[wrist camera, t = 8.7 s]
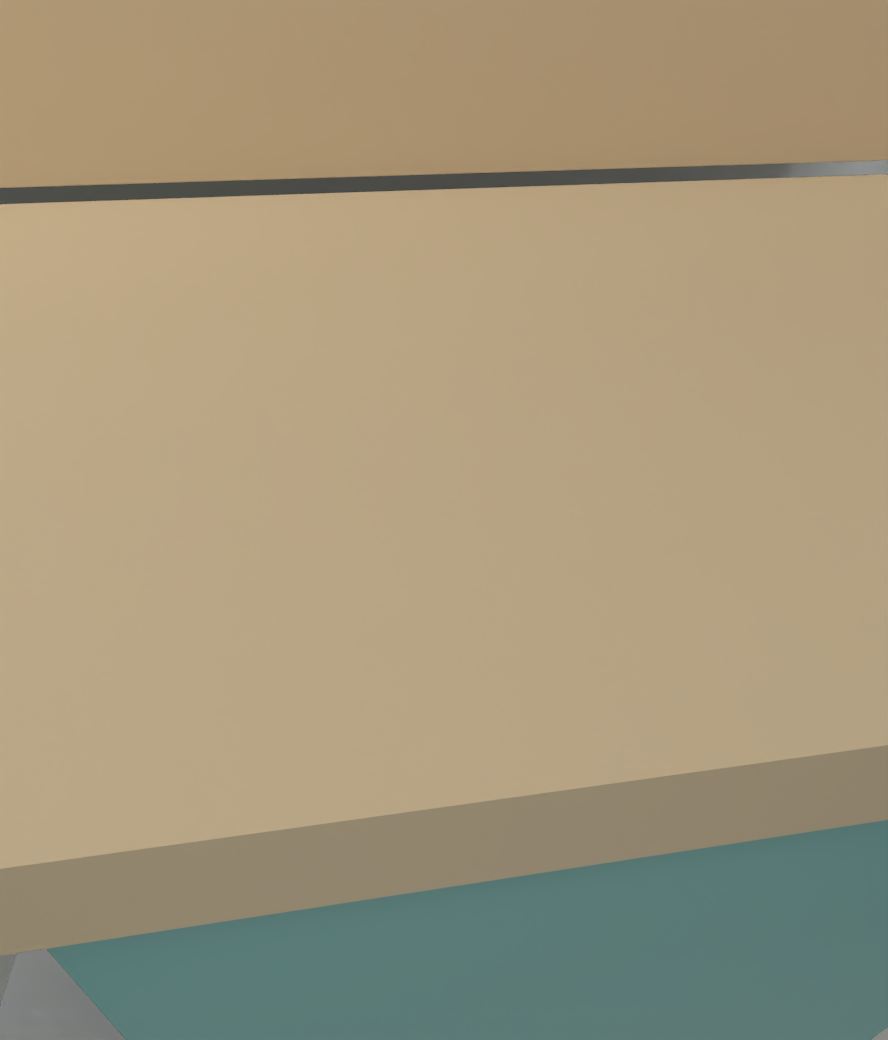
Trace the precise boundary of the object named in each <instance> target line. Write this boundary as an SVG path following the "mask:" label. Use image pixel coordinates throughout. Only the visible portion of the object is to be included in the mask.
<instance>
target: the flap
mask: <svg viewBox="0 0 888 1040" xmlns="http://www.w3.org/2000/svg"><path fill="white" fill-rule="evenodd" d="M42 949H47V950H48V951H49V952H50V954H51V955H52V956H53V957H54V958H55V959H56V960H57V962H58V963H59V964H60V965H61V966H62V967H63V968H64V969H65V971H66V972H67V973H68V974H69V975H70V976H71V977H72V979H73V980H74V981H75V982H76V983H77V984H78V985H79V987H80V988H81V989H82V990H83V991H84V992H85V993H86V995H87V996H88V997H89V998H90V999H91V1000H92V1001H93V1003H94V1004H95V1005H96V1006H97V1007H98V1008H99V1009H100V1011H101V1012H102V1013H103V1014H104V1015H105V1016H106V1017H107V1019H108V1020H109V1021H110V1022H111V1023H112V1024H113V1025H114V1027H115V1028H116V1029H117V1030H118V1031H119V1032H120V1033H121V1035H122V1036H123V1037H124V1038H125V1039H126V1040H871V1039H872V1038H874V1037H875V1036H876V1035H878V1034H879V1033H880V1032H882V1031H883V1030H884V1029H886V1028H887V1027H888V174H882V175H852V176H823V177H793V178H763V179H734V180H704V181H674V182H645V183H615V184H586V185H556V186H526V187H497V188H467V189H437V190H408V191H378V192H348V193H319V194H289V195H260V196H230V197H200V198H171V199H141V200H111V201H82V202H52V203H22V204H0V956H2V955H9V954H15V953H22V952H29V951H35V950H42Z"/></svg>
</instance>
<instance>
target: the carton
mask: <svg viewBox="0 0 888 1040" xmlns="http://www.w3.org/2000/svg"><path fill="white" fill-rule="evenodd" d="M877 160H888V0H0V188H10V187H42V186H74V185H106V184H138V183H171V182H203V181H235V180H267V179H299V178H331V177H363V176H395V175H428V174H460V173H492V172H524V171H556V170H588V169H620V168H652V167H685V166H717V165H749V164H781V163H813V162H845V161H877Z"/></svg>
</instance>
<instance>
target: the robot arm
mask: <svg viewBox="0 0 888 1040" xmlns="http://www.w3.org/2000/svg"><path fill="white" fill-rule="evenodd" d="M15 957H16V953H15V954H9V955H2V956H0V1006H1V1003H2V999H3V996H4V993H5V989H6V986H7V983H8V980H9V976H10V973H11V970H12V966H13V963H14V960H15Z"/></svg>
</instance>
